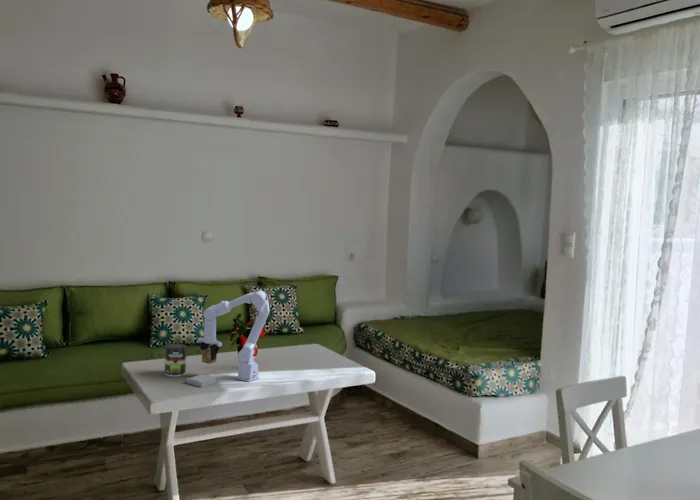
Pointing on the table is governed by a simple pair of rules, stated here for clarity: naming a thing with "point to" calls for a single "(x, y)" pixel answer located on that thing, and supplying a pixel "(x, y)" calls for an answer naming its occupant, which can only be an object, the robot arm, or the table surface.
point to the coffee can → (175, 360)
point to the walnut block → (207, 356)
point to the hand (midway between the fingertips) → (209, 358)
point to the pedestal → (201, 380)
